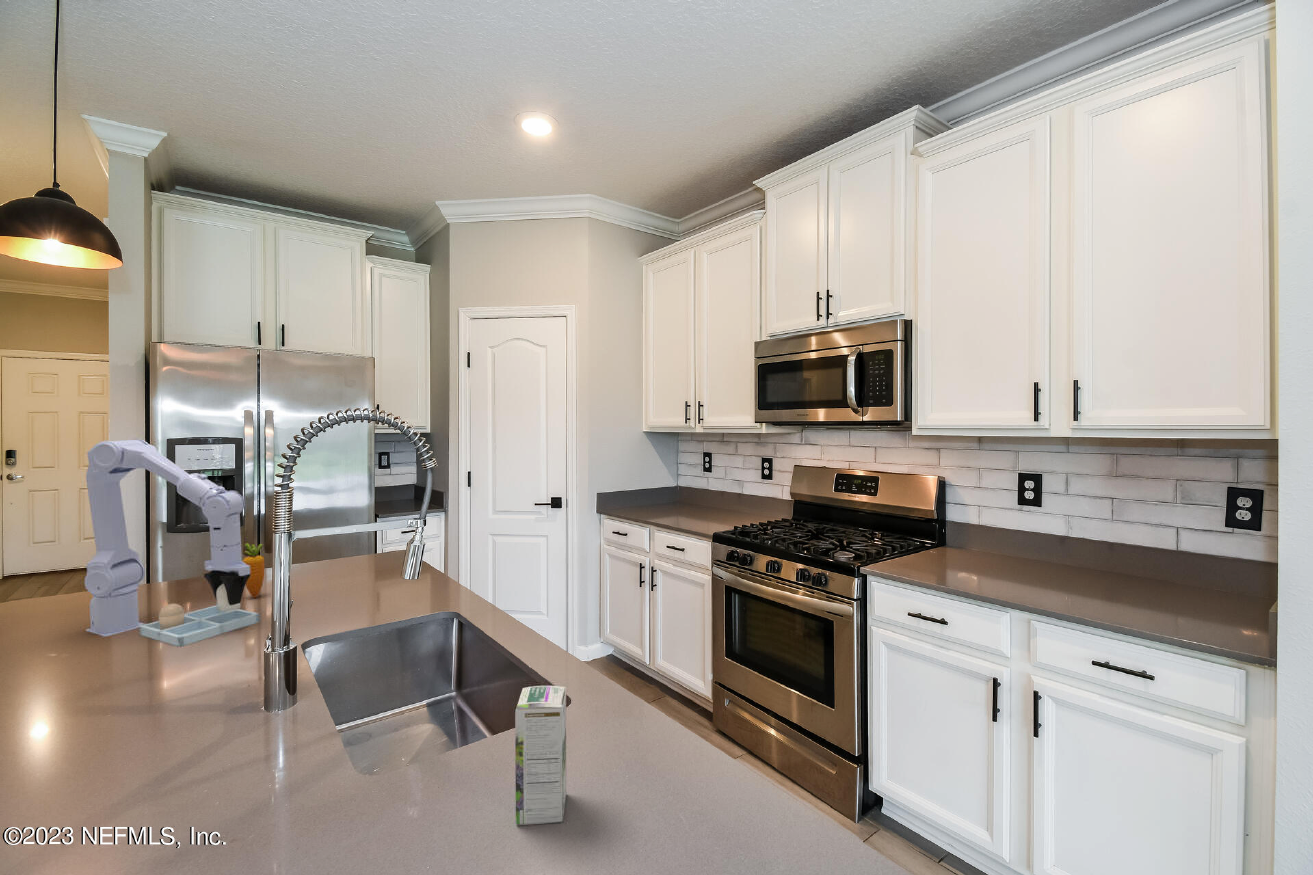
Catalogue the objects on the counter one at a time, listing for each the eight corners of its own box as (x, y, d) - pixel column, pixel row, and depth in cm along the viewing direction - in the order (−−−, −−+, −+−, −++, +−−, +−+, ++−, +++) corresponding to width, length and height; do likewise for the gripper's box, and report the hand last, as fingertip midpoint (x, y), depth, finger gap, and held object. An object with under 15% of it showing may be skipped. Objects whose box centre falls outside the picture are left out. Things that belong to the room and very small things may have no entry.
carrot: (270, 595, 164) (268, 540, 164) (256, 600, 159) (254, 544, 159) (253, 594, 165) (251, 540, 164) (239, 600, 160) (236, 544, 159)
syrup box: (522, 796, 77) (519, 685, 77) (568, 793, 78) (566, 683, 77) (515, 826, 72) (512, 708, 71) (565, 823, 72) (563, 705, 72)
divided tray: (139, 637, 134) (139, 626, 134) (219, 614, 149) (219, 604, 149) (179, 649, 127) (179, 637, 127) (259, 624, 142) (259, 613, 142)
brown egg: (155, 632, 135) (154, 605, 135) (178, 626, 139) (176, 599, 139) (166, 635, 133) (164, 608, 133) (188, 629, 137) (187, 602, 137)
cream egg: (213, 610, 139) (211, 583, 138) (233, 604, 143) (232, 578, 142) (224, 612, 137) (222, 585, 136) (244, 607, 141) (243, 580, 140)
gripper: (188, 545, 139) (191, 603, 139) (225, 551, 132) (228, 612, 133) (222, 539, 145) (224, 594, 145) (258, 544, 138) (261, 602, 139)
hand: (228, 602), depth 140 cm, fingers closed on cream egg, 4 cm apart
